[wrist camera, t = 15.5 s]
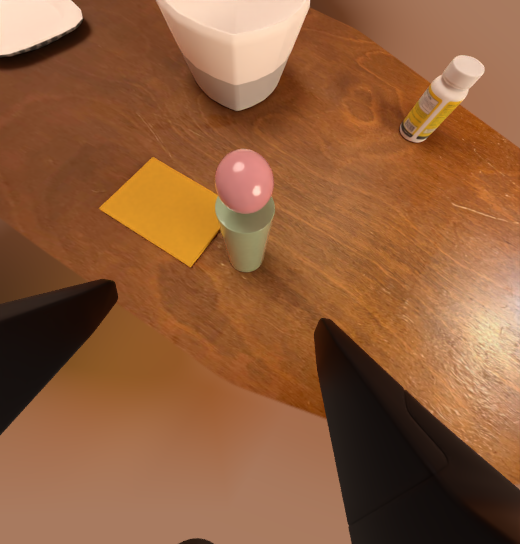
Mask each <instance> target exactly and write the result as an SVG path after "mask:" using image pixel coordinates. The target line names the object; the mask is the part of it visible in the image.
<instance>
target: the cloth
mask: <svg viewBox="0 0 520 544" xmlns="http://www.w3.org/2000/svg"><path fill="white" fill-rule="evenodd" d="M217 197H218V195H217V194H215V193H214V192H212V191H210V190H208V189H207V188H205V187H203V186H202V185H200V184H198V183H196V182H195V181H193V180H191V179H190V178H188V177H186V176H184V175H183V174H181V173H179V172H178V171H176V170H174V169H173V168H171V167H169V166H167V165H166V164H164V163H162V162H161V161H159V160H157V159H155V158H154V157H152V158H151V159H150V160H149V161H148V162H147V163H146V164H145V165H144V166H143V167H142V168H141V169H140V170H139V171H138V172H137V173H136V174H135V175H134V176H132V177H131V178H130V179H129V180H128V181H127V182H126V183H125V184H124V185H123V186H122V187H121V188H120V189H119V190H118V191H117V192H116V193H115V194H114V195H112V196H111V197H110V198H109V199H108V200H107V201H106V202H105V203H104V204H103V205H102V206H101V207H100V208H99V209H100V210H101V211H103V212H104V213H106V214H108V215H109V216H111V217H112V218H114V219H115V220H117V221H118V222H120V223H122V224H123V225H125V226H126V227H128V228H129V229H131V230H133V231H134V232H136V233H137V234H139V235H140V236H142V237H144V238H145V239H147V240H148V241H150V242H151V243H153V244H154V245H156V246H158V247H159V248H161V249H162V250H164V251H165V252H167V253H169V254H170V255H172V256H173V257H175V258H176V259H178V260H180V261H181V262H183V263H184V264H186V265H187V266H189V267H191V266H192V265H193V264H194V263H195V261H196V260H197V259H198V257H199V256H200V255H201V254H202V252H203V251H204V250H205V248H206V247H207V246H208V245H209V243H210V242H211V241H212V239H213V238H214V237H215V236H216V234H217V233H218V232H219V230H220V226H219V223H218V219H217V216H216V212H215V203H216V199H217Z"/></svg>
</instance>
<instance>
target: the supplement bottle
mask: <svg viewBox="0 0 520 544" xmlns="http://www.w3.org/2000/svg"><path fill="white" fill-rule="evenodd" d="M483 73H484V66H483V64H482V63H481V62H480V61H478V60H477V59H475V58H473V57H470V56H466V55H460V56H457V57H455V58H454V59H453V60H452V62H451V63H450V64H449V65H448V67H447V68H446V69H445V71H444V72H443V75H440V76H438V77H437V78H436V79H435V80H434V81H433V82H432V83H431V84H430V86H429V87H428V89H427V90H426V91H425V93H424V94H423V95H422V97H421V98H420V99H419V101H418V102H417V103H416V105H415V106H414V107H413V109H412V110H411V111H410V113H409V114H408V115H407V117H406V118H405V119H404V121H403V122H402V123H401V125H400V133H401V135H402V136H403V137H404V138H405V139H407V140H409V141H412V142H422V141H424V140H426V139H427V138H428V137H429V136H430V134H431V133H432V132H433V131H434V130H435V129H436V128H437V127H438V126H439V125H440V124H441V123H442V122H443V121H444V120H445V119H446V118H447V116H448V115H449V114H450V113H451V112H452V111H453V110H454V109H455V108H456V107H457V106H458V105H459V104H460V103H461V102H462V101H463V100H464V98H465V97H466V96H467V94H468V89H469V88H470V87H472V85H474V83H475V82H476V81H477V80H478V79H479V78H480V77H481V76H482V75H483Z"/></svg>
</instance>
